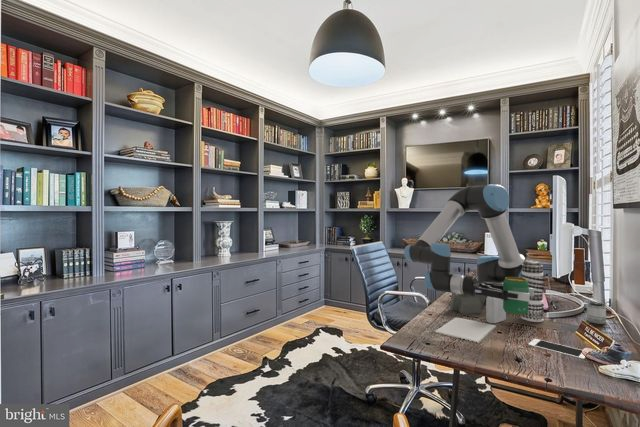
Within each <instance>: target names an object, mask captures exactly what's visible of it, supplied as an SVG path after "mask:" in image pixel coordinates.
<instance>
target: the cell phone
mask: <svg viewBox="0 0 640 427" xmlns="http://www.w3.org/2000/svg"><path fill="white" fill-rule="evenodd" d="M527 345H528V346H532V347H535V348H539V349H543V350H547V351H550V352H554V353H557V354H561V355H566V356H570V357H574V358H577V359H581V360H585V359H586V357H585V356H584V355H583V354H582V350H583V349H579V348H576V347H572V346H568V345H564V344H560V343H555V342H550V341H547V340H542V339H538V338H533V339H532V340H531V341H530V342H528V343H527Z"/></svg>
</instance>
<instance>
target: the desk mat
mask: <svg viewBox="0 0 640 427" xmlns="http://www.w3.org/2000/svg"><path fill="white" fill-rule="evenodd" d="M495 328H496V324H492V323H486V322H482V321H481V322H480V321H476V320H471V319H465V318H461V317H457V316H456V317H454V318H453V319H451V320H450V321H448V322H447V323H445V324H444V325H441V326H440V327H439V328H437V329H436V330H434V333H435V334H440V335H443V336H444V335H445V336H447V337H452V338H456V339H459V338H461V339H460V340H463V339H465V340H464V341H468V340H469V342H472V341H473V342H472V343H476V342H477V343H476V344H479V343H480V342H481V341H482V340H483V339H484V338H485V337H487V336H488V335H489V334H490V333H491V332H492V331H493V330H494V329H495Z"/></svg>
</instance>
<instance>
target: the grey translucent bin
mask: <svg viewBox="0 0 640 427" xmlns="http://www.w3.org/2000/svg"><path fill="white" fill-rule="evenodd" d="M485 297H486V296H484V295H475V296H467V295H464V294H458V295H456V293H451V297H450V303H449V309H450V311H457V312H459V313H461V314H463V315H466V314H473V315H474V314H482V311H483V310H484V306H485V303H484V302H485Z"/></svg>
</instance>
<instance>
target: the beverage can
mask: <svg viewBox="0 0 640 427" xmlns="http://www.w3.org/2000/svg"><path fill="white" fill-rule="evenodd" d="M503 290H504V291H507V292H508V290H509V291H516V292H523V293H529V283H528V282H527V279H524V278H519V277H506V278H505V280H504V281H503ZM528 305H529V302H527V301H521V300H515V299H508V297H507V301H505V300H504V299H503V309H504V311H505V312H506V314H510V315H515V316H522V315H526V314H527V312H528Z"/></svg>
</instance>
